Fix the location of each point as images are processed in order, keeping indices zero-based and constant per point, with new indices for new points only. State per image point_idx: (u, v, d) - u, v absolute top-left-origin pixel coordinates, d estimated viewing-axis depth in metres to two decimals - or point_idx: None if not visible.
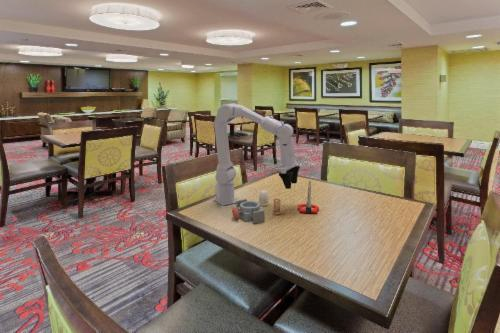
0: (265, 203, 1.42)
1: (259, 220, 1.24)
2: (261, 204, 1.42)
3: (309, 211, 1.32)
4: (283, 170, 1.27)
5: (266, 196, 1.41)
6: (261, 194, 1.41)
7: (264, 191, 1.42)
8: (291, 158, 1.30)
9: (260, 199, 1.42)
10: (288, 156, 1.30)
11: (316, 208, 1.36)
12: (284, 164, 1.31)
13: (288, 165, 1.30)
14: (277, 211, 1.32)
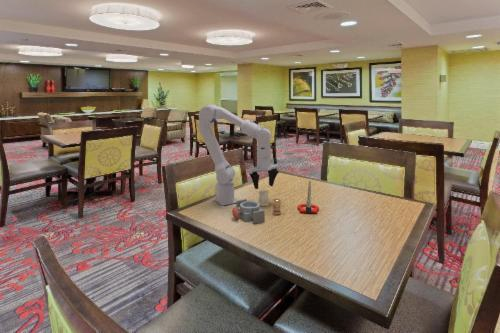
0: (265, 203, 1.42)
1: (259, 220, 1.24)
2: (261, 204, 1.42)
3: (309, 211, 1.32)
4: (249, 170, 1.36)
5: (266, 196, 1.41)
6: (261, 194, 1.41)
7: (264, 191, 1.42)
8: (262, 161, 1.36)
9: (260, 199, 1.42)
10: (260, 159, 1.37)
11: (316, 208, 1.36)
12: (257, 165, 1.39)
13: (259, 167, 1.38)
14: (277, 211, 1.32)
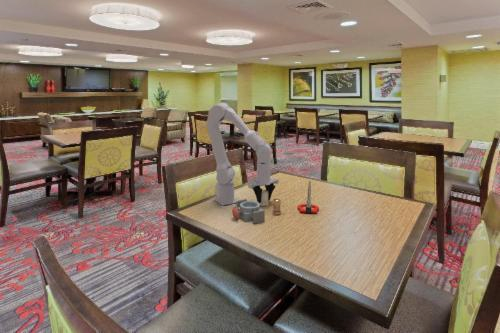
0: (265, 203, 1.42)
1: (259, 220, 1.24)
2: (261, 204, 1.42)
3: (309, 211, 1.32)
4: (249, 185, 1.38)
5: (266, 196, 1.41)
6: (261, 194, 1.41)
7: (264, 191, 1.42)
8: (262, 176, 1.38)
9: None
10: (260, 174, 1.38)
11: (316, 208, 1.36)
12: (257, 180, 1.41)
13: (259, 182, 1.39)
14: (277, 211, 1.32)
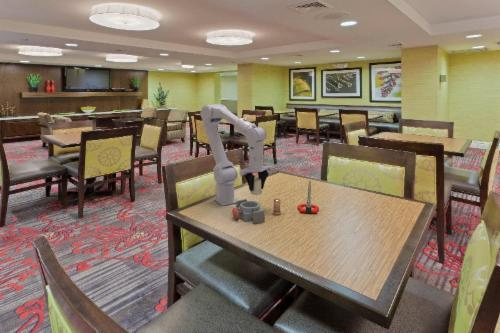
0: (257, 192, 1.32)
1: (259, 220, 1.24)
2: (253, 193, 1.33)
3: (309, 211, 1.32)
4: (241, 172, 1.28)
5: (258, 184, 1.32)
6: None
7: (256, 179, 1.32)
8: (255, 162, 1.28)
9: None
10: (252, 160, 1.29)
11: (316, 208, 1.36)
12: (249, 166, 1.31)
13: (251, 168, 1.30)
14: (277, 211, 1.32)
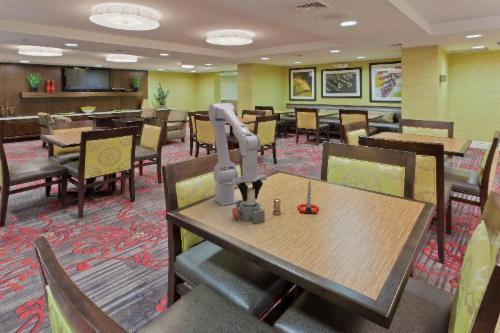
0: (250, 202, 1.27)
1: (259, 220, 1.24)
2: (246, 203, 1.28)
3: (309, 211, 1.32)
4: (233, 182, 1.23)
5: (252, 194, 1.27)
6: None
7: (249, 189, 1.27)
8: (248, 172, 1.23)
9: None
10: (245, 169, 1.24)
11: (316, 208, 1.36)
12: None
13: (244, 178, 1.25)
14: (277, 211, 1.32)
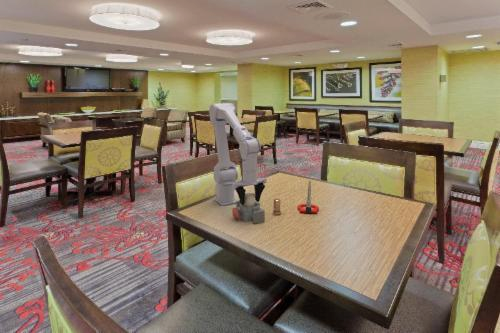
0: None
1: (259, 220, 1.24)
2: None
3: (309, 211, 1.32)
4: (233, 185, 1.24)
5: (251, 200, 1.27)
6: (246, 197, 1.27)
7: (249, 195, 1.28)
8: (248, 175, 1.24)
9: (245, 203, 1.28)
10: (245, 172, 1.24)
11: (316, 208, 1.36)
12: None
13: (244, 181, 1.25)
14: (277, 211, 1.32)
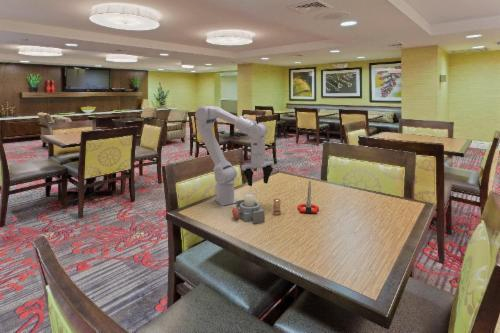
0: None
1: (259, 220, 1.24)
2: None
3: (309, 211, 1.32)
4: (243, 167, 1.32)
5: (251, 200, 1.27)
6: (246, 197, 1.27)
7: (249, 195, 1.28)
8: (256, 157, 1.32)
9: (245, 203, 1.28)
10: (254, 155, 1.32)
11: (316, 208, 1.36)
12: (251, 162, 1.35)
13: (253, 164, 1.33)
14: (277, 211, 1.32)
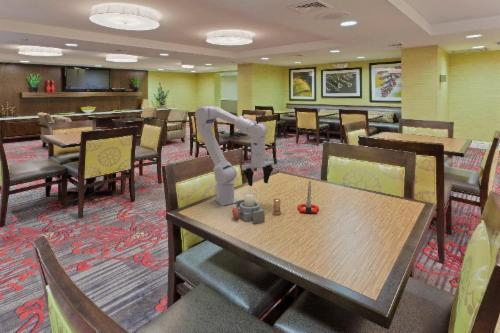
0: None
1: (259, 220, 1.24)
2: None
3: (309, 211, 1.33)
4: (243, 167, 1.32)
5: (251, 200, 1.27)
6: (246, 197, 1.27)
7: (249, 195, 1.28)
8: (257, 157, 1.32)
9: (245, 203, 1.28)
10: (254, 155, 1.32)
11: (316, 208, 1.36)
12: (251, 162, 1.35)
13: (253, 164, 1.34)
14: (277, 211, 1.32)
